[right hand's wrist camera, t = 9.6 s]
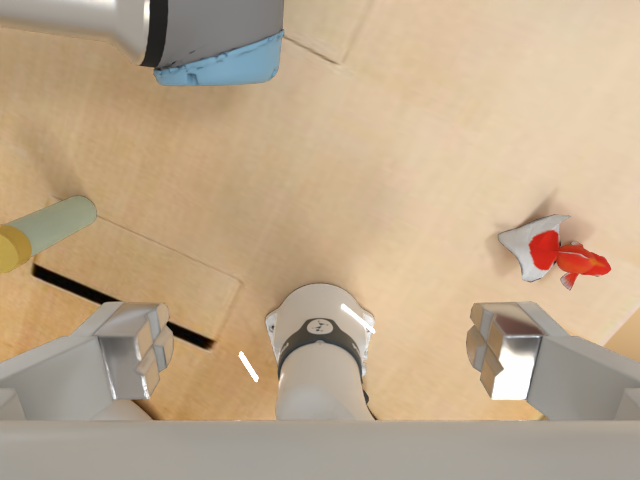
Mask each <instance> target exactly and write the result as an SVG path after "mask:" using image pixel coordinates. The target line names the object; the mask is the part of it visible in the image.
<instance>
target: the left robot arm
mask: <svg viewBox="0 0 640 480" xmlns="http://www.w3.org/2000/svg"><path fill="white" fill-rule="evenodd" d="M283 8H284V0H0V27H4V28H11V29H18V30H25V31H32V32H39V33H46V34H53V35H60V36H67V37H75V38H82V39H89V40H96V41H103V42H109V43H110V44H112V45H114V46H115V47H116V48H117V49H118V50H119V51H120V52H121V53H122V54H123V55H124V56H125V57H126V58H127V59H128V60H129V61H130V62H131V63H132V64H133V65H138V66H147V67H154V68H155V69H154V73H153V74H154V76H155V77H156V80H157V82H158V83H159V84H161V85H165V86H190V85H191V86H200V85H201V86H218V85H241V84H254V83H263V82H266V81H269V80H270V79H272V78H273V77H274V76H275V74H276V73H277V71H278V68H279V61H280V50H281V39H282V37H283V36H284V30H283V29H282V28H283Z"/></svg>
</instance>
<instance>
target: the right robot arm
mask: <svg viewBox="0 0 640 480" xmlns="http://www.w3.org/2000/svg"><path fill="white" fill-rule="evenodd" d="M169 318H170V315H169V310H168V306H167V305H166V304H165V303H153V302H106V303H104V304H102V305H101V306H100V307H99V308H98V309H97V310H96V311H95V312H94V313H93V314H92V315H91V316H90V317H89V318H88V319H87V320H86V321H85V322H83V323H82V324H81V325H80V326H79V327H78V328H77V329H76V330H75V331H74V332H73V333H72V334H71V335H70V336H62V337H60V338H57V339H55V340H52V341H50V342H48V343H45V344H43V345H41V346H38V347H36V348H34V349H31V350H29V351H26V352H24V353H22V354H19V355H17V356H15V357H12V358H10V359H7V360H5V361H3V362H0V480H640V363H639V362H637V361H635V360H632V359H630V358H628V357H625V356H623V355H621V354H618V353H616V352H613V351H611V350H609V349H606V348H604V347H602V346H599V345H597V344H595V343H592V342H590V341H588V340H585V339H583V338H580V337H578V336H570V335H569V334H568V333H567V332H566V331H565V330H564V329H563V328H562V327H561V326H560V325H559V324H558V323H557V322H556V321H555V320H553V319H552V318H551V317H550V316H549V315H548V314H547V313H546V312H545V311H544V310H543V309H542V308H541V307H540V306H539V305H538V304H537V303H534V302H499V303H474V305H473V307H472V309H471V314H470V318H471V320H472V321H473V323H474V324H475V325H474V326H473V327H472V328H471V329H470V330H469V331H468V332H467V340H466V346H467V354H468V357H469V361H470V362H471V364H472V366H473V368H475V369H476V370H478V371H480V372H481V377H480V380H481V382H482V384H483V386H484V387H485V389H486V391H487V393H488V394H489V396H490V398H491V399H506V400H527V402H528V403H529V404H530V405H532V406H533V407H534V408H535V409H537V410H538V411H539V412H541V413H542V414H543V415H545V416H546V417H547V418H549V419H550V420H376V418H375V417H374V416H373V415H372V413H371V412H370V410H369V408H368V406H367V403H368V401H369V397H368V395H367V394H366V392H365V391H364V390H363V389H362V383H363V382H362V376H365V374H366V363H365V362H363V361H364V359H367V358H368V351H367V347H368V344H369V340H370V337H371V333H372V332H373V333H374V332H375V330H374V329H373V327H374V316H373V315H372V314H371V313H369V312H367V311H366V310H364V309H362V308H361V307H360V306H359V305H358V303H357V302H356V300H355V299H354V298H353V297H352V296H351V295H350V294H349V293H348V292H346V291H345V290H343V289H342V288H339V287H337V286H334V285H330V284H324V283H316V284H310V285H306V286H303V287H301V288H298V289H297V290H295V291H294V292H292V293H291V294H290V295H289V296H288V297H287V298H286V299H285V300H284V302H283V303H282V305H281V306H280V307H279V308H278V309H276V310H274V311H273V312H271V313H269V314H268V315H267V316H266V327H267V330H268V333H269V337H270V340H271V344H272V347H273V351H274V354H275V357H276V361H277V364H278V379H279V387H278V394H277V401H276V408H275V414H276V420H90V419H92V418H93V417H94V416H95V415H97V414H98V413H99V412H101V411H102V410H103V409H105V408H106V407H107V406H109V405H110V404H111V403H112V402H113V400H133V399H149V398H150V396H151V394H152V393H153V391H154V389H155V387H156V386H157V384H158V382H159V380H160V377H159V372H160V371H162V370H164V369H165V368H167V366H168V364H169V362H170V360H171V357H172V353H173V349H174V339H173V332H172V331H171V330H170V329H169V328H168V327H167V326H166V325H165V324H166V323H167V321H168V320H169ZM273 325H274V327H272V326H273ZM239 357H240V358H241V360H242V361H243V363H244V364H245V366H246V368H247V369H248V371H249V372H250V374H251V375H252V377H253V378H254V380H255V382H257V381H258V377H257V375H256V373H255V372H254V370H253V369H252V367H251V366H250V364H249V362H248V361H247V359H246V358H245V356H244V355H243V353H242V352H240V354H239Z"/></svg>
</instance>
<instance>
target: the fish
mask: <svg viewBox="0 0 640 480" xmlns="http://www.w3.org/2000/svg"><path fill="white" fill-rule="evenodd" d="M569 217H571V216H565V215H551V216H547V217H544V218H541V219H537V220H535V221H532V222H530V223H528V224H526V225H523V226H521V227H519V228H517V229H513V230H509V231H506V232H503V233H500V234H499V235H498V240H499V241H500V242H501V243H502V244H503V245H504V246H505V247H506V248H507V249H508V250H509V251H511V252H512V253H513V254H514V255H515V256H516V258H517V259H518V261H519V263H520V266H521V271H522V280H524V281H528V282H533V281H536V280H538V279H540V278H542V277H543V276H544V275H545V274H546V273H547V272H548V271H549V270H550V269H551V268H552V266H553V265H554V264H555V263H556V261H557V265H558V266H559V268H560V269H562V270H563V271H565V272H568V273H566V274H565V275H564V276H563V277H561V282H562V284H563V285H564V286H565V287H566V288H567V289H569V290H571V288H572V286H573V284H574V282H575V280H576V278H577V276H578V274H582V275H593V276H601V275H604V274H607V273H608V272H609V271H610V270H611V267H610V265H609V264H608V262H607V260H606V259H605V258H604V257H603V256H599V255H597V254H595V253H592V252H589V251H587V250H586V249H584V248H583V245H582V244H580V243H578V242H577V241H573V242H571V245H565V246H562V247H561V248H560V246H561V242H560V236H559V230H560V223H561V222H562V221H563V220H565V219H567V218H569Z"/></svg>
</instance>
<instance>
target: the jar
mask: <svg viewBox="0 0 640 480" xmlns="http://www.w3.org/2000/svg"><path fill="white" fill-rule="evenodd" d="M96 216H97V211H96V208H95V206H94V204H93V203H92V202H91V201H90V200H89V199H87V198H85V197H82V196H73V197H70V198H68V199H66V200H63V201H61V202H58V203H56V204H53V205H51V206H48V207H46V208H44V209H41V210H39V211H36V212H34V213H31V214H29V215H26V216H24V217H21V218H19V219H17V220H14V221H12V222H9V223H7V224H4V225H9V226H13V227H15V228H17V229H18V230H20V231H21V232H23V233H24V234H25V235H26V237H27V238H28V240H29V241H30V244H31V247H32V254H31V257H32V256H34V255H36V254H37V253H39V252H41V251H43V250H45V249H46V248H48V247H50V246H52V245H54V244H55V243H57V242H59V241H61V240H63V239H64V238H66V237H68V236H70V235H71V234H73V233H75V232H77V231H79V230H80V229H82V228H84V227H86V226H88V225H89V224H91V223H93V222H94V220H95V219H96Z"/></svg>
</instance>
